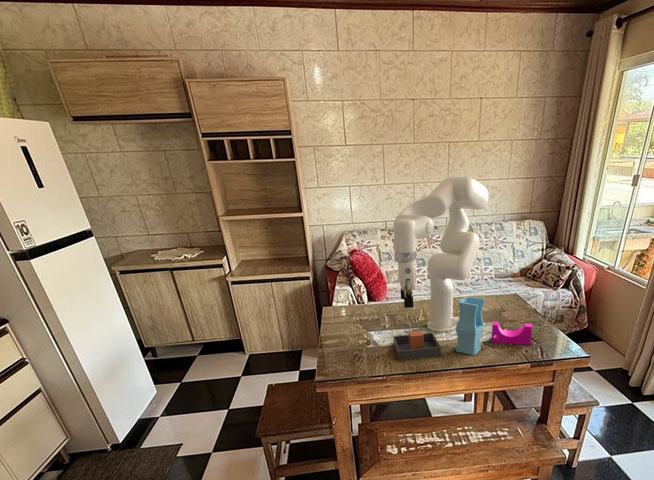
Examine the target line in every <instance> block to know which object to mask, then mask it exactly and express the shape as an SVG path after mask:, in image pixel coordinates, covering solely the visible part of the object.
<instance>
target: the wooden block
mask: <svg viewBox="0 0 654 480" xmlns="http://www.w3.org/2000/svg"><path fill="white" fill-rule="evenodd" d="M408 335H409V348H410V350H412V349H422V348H424V335H423V331H422V329H421V330H419V329H418V330H410V331H408Z"/></svg>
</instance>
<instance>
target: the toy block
mask: <svg viewBox="0 0 654 480" xmlns="http://www.w3.org/2000/svg"><path fill="white" fill-rule="evenodd" d="M532 331H533V323H530V322H525V323H524V324H523V326H521V327H519V328H516V329H513V330H509V329H506V328H501V326H500V324H499V321H494V320H493V321H492V329H491V340H490V342H491V343H497V344H513V345H527V346H529V345H531V341H532V340H531V339H532Z"/></svg>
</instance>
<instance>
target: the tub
mask: <svg viewBox="0 0 654 480" xmlns="http://www.w3.org/2000/svg"><path fill="white" fill-rule="evenodd" d="M422 333H423V332H422ZM423 335H424V348H422V349H412V350H410V348H409V334H404V335H395V336H393V337H392V339H393V340H392V341H393V346H394V350H395V353H396V357H397V359H398V361H404V360H412V359H413V360H414V359H422V358H432V357H442V347H441V344H440V343H439V341H438V340H437V337H436V335H435V334H434V332H425V333H423Z"/></svg>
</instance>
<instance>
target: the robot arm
mask: <svg viewBox="0 0 654 480" xmlns="http://www.w3.org/2000/svg"><path fill="white" fill-rule="evenodd" d="M488 203H489V191H488V189H487V188H486V186H484V185H483V184H482V183H480V182H479V181H478V180H476V179H474V178H473V177H468V176H448V177H446V178H444V179H443V180H442V181H440V183H439V184H438V185H437V186H436V187H435V188H434V189H433V190H432V191H431V192H430V194H428V195H427V196H425V197H421V198H419V199H418V200H416V201H413V202H411V203H409V204H408V205H407V206H405V207H404V208H403V209H402V210H401V211H400V212H399V214H397V216H396V218H395V220H394V221H393V224H392V226H393V227H392V228H393V248H394V262H395V263H397V264H398V265H397V270H398V282H399V286H400V299H401V300H403V306H404V307H403V308H405V309H408V308H409V309H411V308H414V295H413V291H415V290H416V273H415V272H416V271H415V262H416V261H417V240H420V239H421V240H422V239H427V238H428V237H430V236H431V235H432V234H433V232H434V229H435V227H434V226H435V225H434V222H433V219H434V218H438V217H442V216H443V215H444V214H445V213H446V212H447V211H448V215H449V220H448V223H447V226H446V228H445V229H444V232H443V235H442V238H441V240H440V244H439V247H440V250H441V253H435V254H432V255H431V256H429V259H428V262H427V270H428V275H429V283H430V284H429V285H430V321H429V322H427V324H426V327H427V329H428V330H430V331H432V332H436V333H447V332H451V331H453V330H456V327H457V324H458V321H459V317H460V316H453V315H454V313H453V312H454V286H453V282H452V280H453V281H465V280H466V279H467V278H468V277H469V275H470V273H471V271H472V268H473V265H474V263H475V261H476V258H477V256H478V253H479V250H480V237H479V236H478V234H477V233H476V232H473V231H468V230H469V226H470V220H469V218H468V216H467V214H466V213H465V210H482V209H485V207H486V206H487V205H488Z"/></svg>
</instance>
